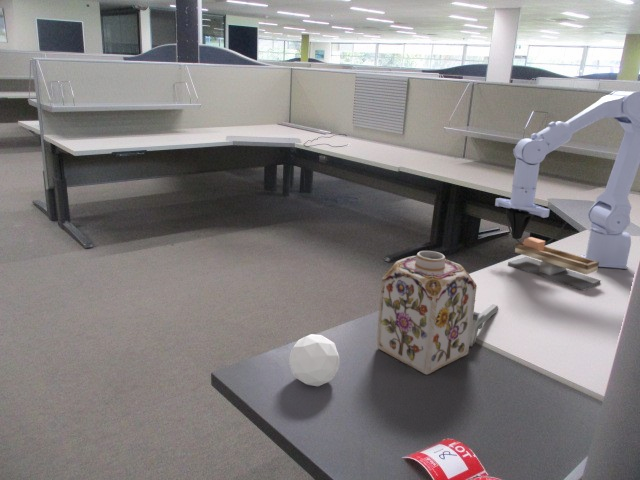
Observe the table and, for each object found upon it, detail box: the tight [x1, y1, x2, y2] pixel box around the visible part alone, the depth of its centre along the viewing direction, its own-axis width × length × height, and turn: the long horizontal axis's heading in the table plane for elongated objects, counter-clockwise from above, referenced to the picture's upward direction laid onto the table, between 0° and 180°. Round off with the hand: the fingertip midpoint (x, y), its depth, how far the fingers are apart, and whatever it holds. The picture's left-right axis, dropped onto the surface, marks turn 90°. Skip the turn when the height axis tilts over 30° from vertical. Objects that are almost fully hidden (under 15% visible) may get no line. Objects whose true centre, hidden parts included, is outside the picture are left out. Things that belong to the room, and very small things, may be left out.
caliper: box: [469, 304, 499, 347], centre depth 103 cm, size 20×1×6 cm, turn 149°
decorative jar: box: [376, 250, 477, 376], centre depth 90 cm, size 12×12×18 cm
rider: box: [523, 236, 546, 251], centre depth 136 cm, size 4×3×2 cm
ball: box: [288, 333, 340, 387], centre depth 82 cm, size 8×8×8 cm
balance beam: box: [507, 241, 602, 291], centre depth 132 cm, size 20×8×6 cm, turn 36°
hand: (516, 238), depth 139 cm, fingers closed
